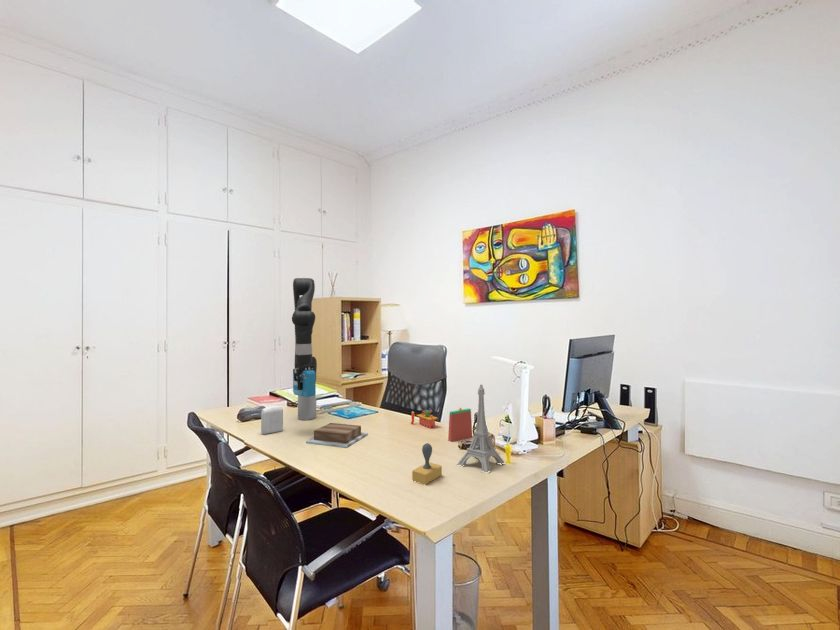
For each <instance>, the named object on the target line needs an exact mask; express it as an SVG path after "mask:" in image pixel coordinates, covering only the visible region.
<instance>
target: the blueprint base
mask: <svg viewBox="0 0 840 630" xmlns="http://www.w3.org/2000/svg"><path fill="white" fill-rule="evenodd" d="M368 435H369V433H368V432H362V426H361V425H357V424H356V425H355V424H346V423H336V422H329V423H327V424H325V425H323V426H320V427H318V428H317V429H314V430H313V437H312V438H310V439H308V440H305V444H311V445H319V446H327V447H335V448H345V449H348V448H349V447H351V446H352V445H354V444H355V443H357V442H358V441H360V440H362V439H364V438H365V437H367V436H368Z"/></svg>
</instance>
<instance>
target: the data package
mask: <svg viewBox="0 0 840 630" xmlns="http://www.w3.org/2000/svg"><path fill="white" fill-rule="evenodd" d="M302 374H303V381H302V382H303V389H302V390H298V386H297V381H294V374H293V373H292V383H293V384H292V385H293V386H292V392H293V395H295V396H298V395H299V396H303V397H310V396H314V395H315V393H316V390H317V389H316V383H315V371H314V370H306V371H302ZM302 374H300V375H302ZM296 379H297V377H296ZM300 379H301V377H300Z"/></svg>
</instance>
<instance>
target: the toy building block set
mask: <svg viewBox="0 0 840 630" xmlns="http://www.w3.org/2000/svg"><path fill="white" fill-rule="evenodd" d="M432 412H433V411H432V410H430V409H425V410H422V411H421V414H415V412H414V411H411V415H410V416H411V422H410V425H414V422H415V417H418V418H419V419H418V421H419V422H418V424H419V425H421V426H423V427H426V428H428V429H431V428H436V420H438V417H436V416H434V415H433V414H431V413H432ZM448 418H449V419H448V437H447V439H448V440H447V441H449V442H456V441H461V440H464V439H465V440H466V439H469V438H473V428H472V427H473V426H472V425H473V424H472V422H473V421H472V408H465V409H464V408H463V409H462V408H461V407H460V408H459V409H457V410H453V411H449V417H448Z"/></svg>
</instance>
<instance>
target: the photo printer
mask: <svg viewBox="0 0 840 630" xmlns="http://www.w3.org/2000/svg"><path fill="white" fill-rule="evenodd" d="M260 414H261V416H260V417H261V418H260V419H261V420H260V432H261V435H267V434H272V433H277V432H282V431H284V408H283V406H280V405H270V406H266V407H263V408H262V409H261V412H260Z"/></svg>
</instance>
